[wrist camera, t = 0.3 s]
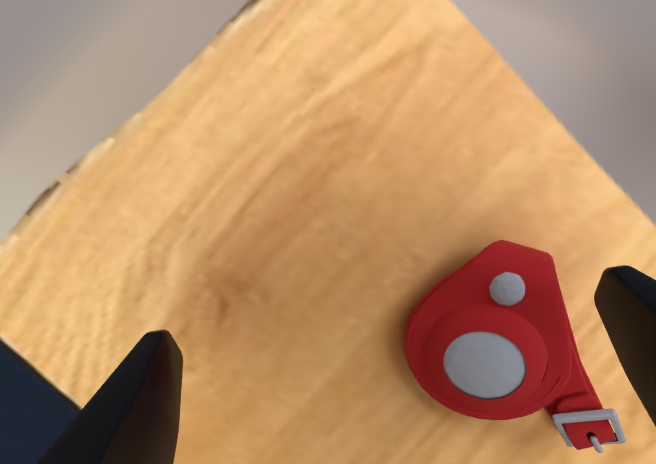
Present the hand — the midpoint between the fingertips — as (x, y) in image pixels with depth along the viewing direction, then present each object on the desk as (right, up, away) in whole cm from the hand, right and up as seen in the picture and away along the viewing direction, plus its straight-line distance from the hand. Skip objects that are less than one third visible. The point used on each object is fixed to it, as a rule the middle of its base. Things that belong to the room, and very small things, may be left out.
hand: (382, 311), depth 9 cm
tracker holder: (+9, -5, +16) cm, 19 cm away
